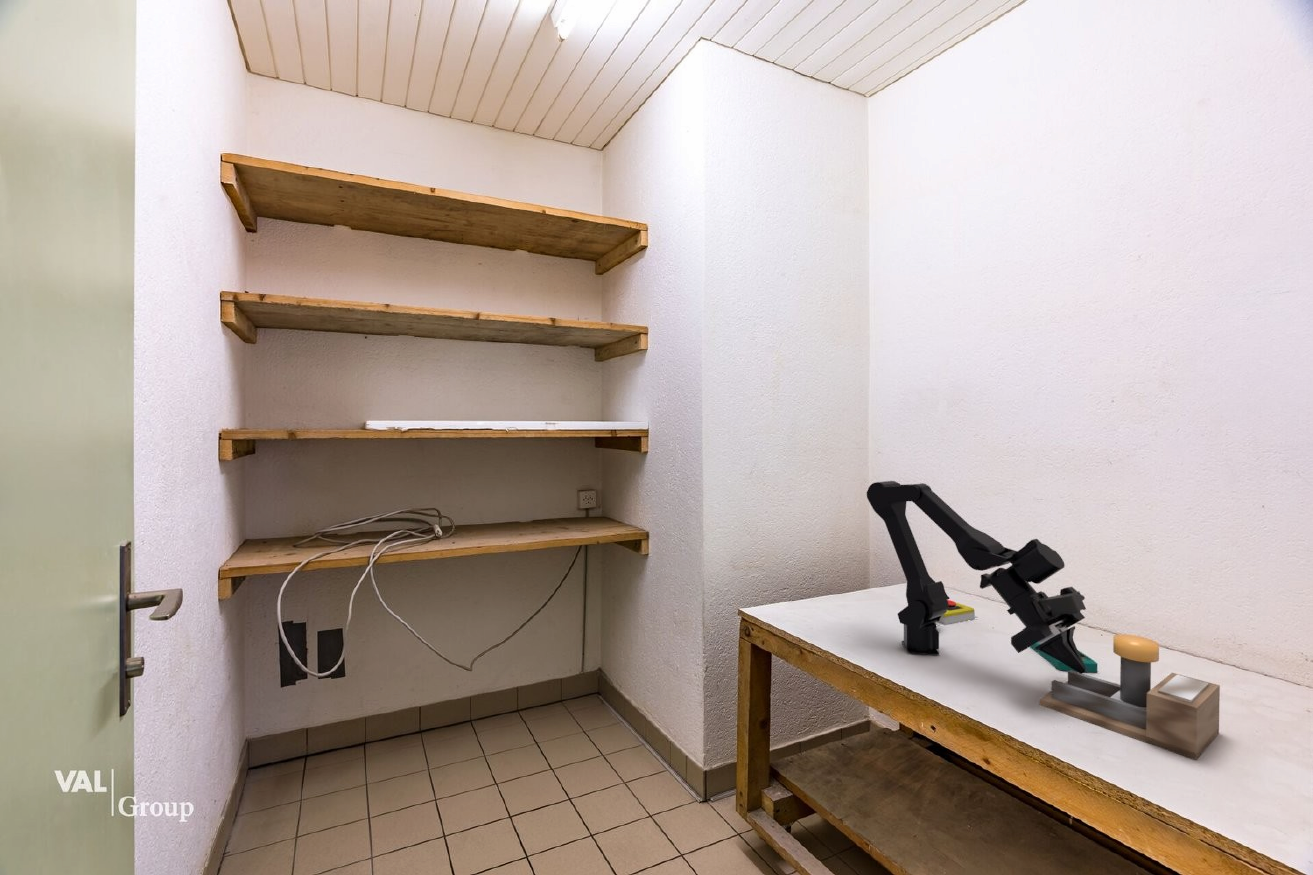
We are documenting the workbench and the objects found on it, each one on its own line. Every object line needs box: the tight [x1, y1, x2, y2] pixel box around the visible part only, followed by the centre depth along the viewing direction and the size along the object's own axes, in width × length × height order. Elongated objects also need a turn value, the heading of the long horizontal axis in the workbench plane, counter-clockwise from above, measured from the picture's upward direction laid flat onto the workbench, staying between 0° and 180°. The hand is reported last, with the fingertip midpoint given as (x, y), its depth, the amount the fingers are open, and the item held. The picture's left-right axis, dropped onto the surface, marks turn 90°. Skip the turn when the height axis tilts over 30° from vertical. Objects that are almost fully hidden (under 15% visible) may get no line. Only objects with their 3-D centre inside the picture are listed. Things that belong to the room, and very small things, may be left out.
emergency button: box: [936, 599, 979, 627], centre depth 153 cm, size 9×4×15 cm
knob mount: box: [1038, 670, 1221, 761], centre depth 100 cm, size 21×13×8 cm, turn 35°
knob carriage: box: [1110, 633, 1160, 709], centre depth 99 cm, size 6×6×13 cm
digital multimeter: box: [1029, 642, 1098, 674], centre depth 126 cm, size 7×15×3 cm, turn 170°
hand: (1084, 672), depth 105 cm, fingers closed
